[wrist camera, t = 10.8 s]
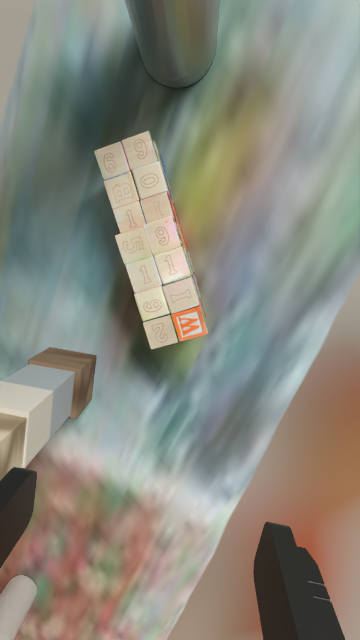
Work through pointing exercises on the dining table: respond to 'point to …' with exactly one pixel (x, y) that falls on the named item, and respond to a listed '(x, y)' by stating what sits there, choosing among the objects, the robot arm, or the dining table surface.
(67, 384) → the tower mid
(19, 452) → the birch block
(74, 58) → the dining table surface
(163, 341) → the stack of blocks
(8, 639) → the white bottle
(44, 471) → the dining table surface
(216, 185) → the dining table surface
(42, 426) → the tower top
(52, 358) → the tower base
